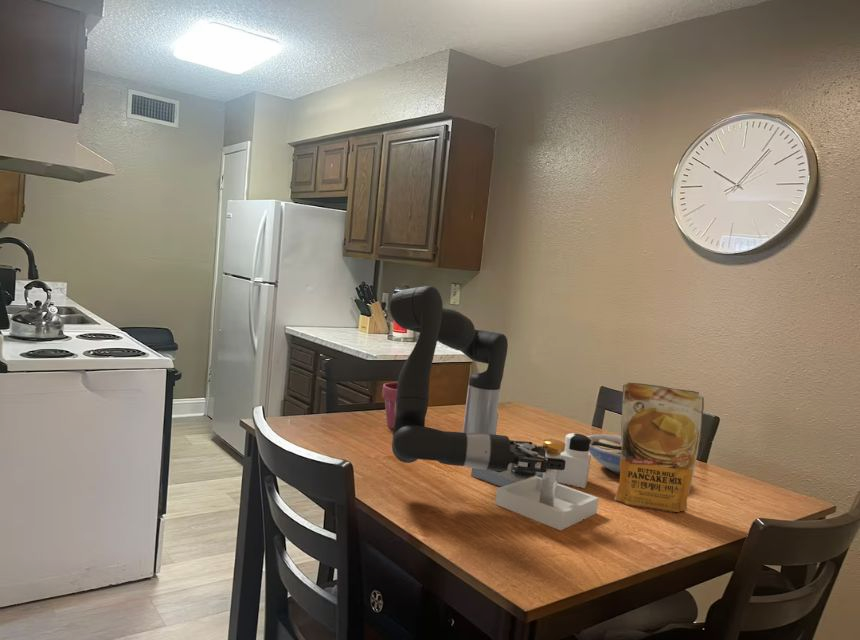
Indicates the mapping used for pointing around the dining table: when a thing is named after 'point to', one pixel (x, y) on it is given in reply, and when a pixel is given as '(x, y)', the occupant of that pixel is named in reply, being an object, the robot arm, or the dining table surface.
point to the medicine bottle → (575, 461)
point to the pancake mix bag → (658, 445)
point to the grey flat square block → (504, 475)
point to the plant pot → (390, 402)
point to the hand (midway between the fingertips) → (559, 458)
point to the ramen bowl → (606, 451)
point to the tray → (564, 513)
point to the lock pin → (550, 472)
